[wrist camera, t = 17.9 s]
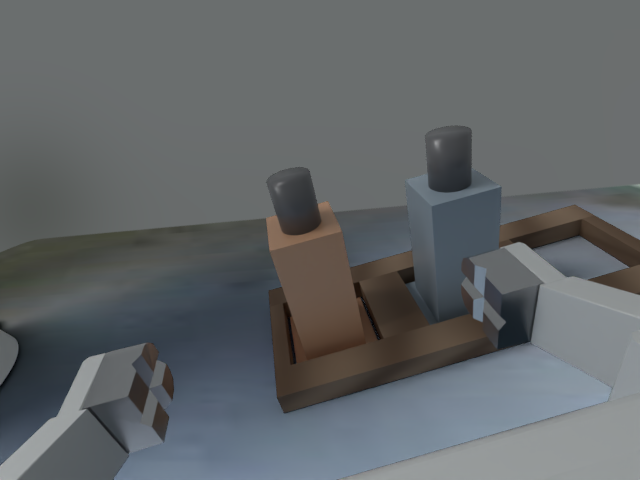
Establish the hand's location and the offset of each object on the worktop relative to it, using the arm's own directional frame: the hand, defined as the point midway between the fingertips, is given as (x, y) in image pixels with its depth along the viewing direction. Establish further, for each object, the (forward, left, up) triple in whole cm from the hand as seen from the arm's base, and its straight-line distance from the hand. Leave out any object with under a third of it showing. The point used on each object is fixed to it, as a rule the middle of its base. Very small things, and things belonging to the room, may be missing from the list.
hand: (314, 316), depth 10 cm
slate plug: (+9, +12, -13) cm, 20 cm away
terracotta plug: (0, +12, -13) cm, 17 cm away
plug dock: (+9, +12, -13) cm, 20 cm away
